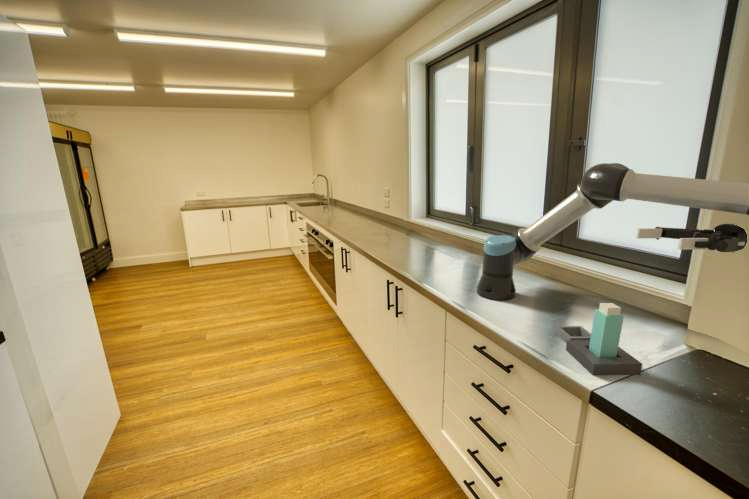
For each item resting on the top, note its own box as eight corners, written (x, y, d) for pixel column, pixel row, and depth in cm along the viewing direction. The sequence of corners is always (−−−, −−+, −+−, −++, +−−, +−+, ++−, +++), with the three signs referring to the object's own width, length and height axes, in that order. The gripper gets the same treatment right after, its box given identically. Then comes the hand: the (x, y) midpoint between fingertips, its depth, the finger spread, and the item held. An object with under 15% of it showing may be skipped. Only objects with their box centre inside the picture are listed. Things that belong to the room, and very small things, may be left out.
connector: (587, 357, 93) (596, 302, 89) (603, 357, 93) (612, 302, 89) (597, 366, 89) (607, 308, 85) (614, 366, 89) (625, 308, 85)
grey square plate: (555, 333, 106) (556, 326, 106) (579, 333, 106) (580, 326, 106) (569, 345, 99) (570, 338, 98) (595, 345, 99) (596, 337, 98)
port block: (565, 349, 97) (567, 340, 96) (607, 349, 97) (609, 340, 96) (592, 374, 85) (594, 364, 84) (640, 374, 85) (642, 363, 84)
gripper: (788, 264, 79) (697, 264, 79) (690, 241, 104) (621, 242, 103) (797, 232, 78) (705, 233, 77) (696, 217, 102) (625, 217, 102)
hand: (657, 238), depth 90 cm, fingers open, 13 cm apart
